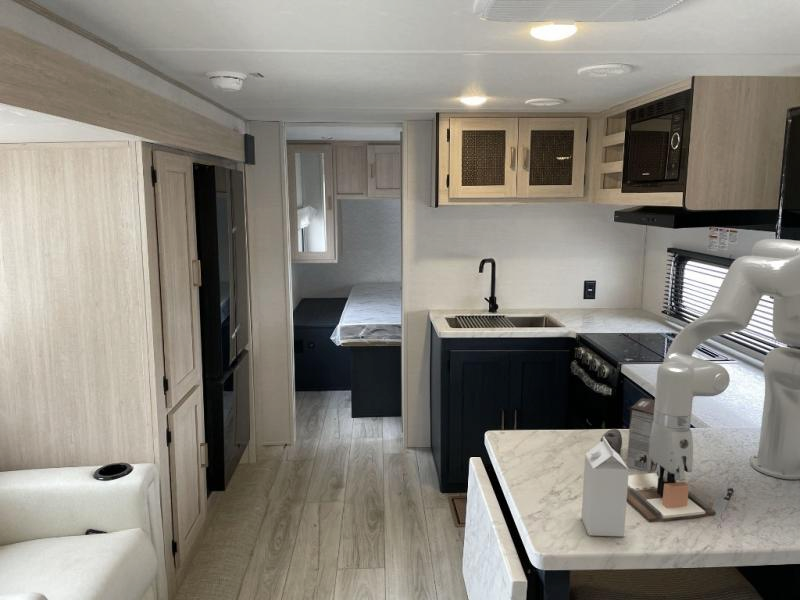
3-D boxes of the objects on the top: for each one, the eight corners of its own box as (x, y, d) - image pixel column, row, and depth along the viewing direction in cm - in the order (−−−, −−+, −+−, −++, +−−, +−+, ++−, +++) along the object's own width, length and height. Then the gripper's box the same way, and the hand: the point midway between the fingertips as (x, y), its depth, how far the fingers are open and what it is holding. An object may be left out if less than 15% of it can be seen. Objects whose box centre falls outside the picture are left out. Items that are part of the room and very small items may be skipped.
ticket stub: (684, 497, 139) (686, 475, 138) (705, 513, 133) (707, 490, 131) (644, 502, 137) (646, 479, 136) (663, 518, 131) (665, 494, 130)
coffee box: (637, 454, 164) (641, 397, 161) (662, 461, 160) (667, 402, 157) (625, 466, 157) (629, 406, 154) (651, 473, 153) (656, 412, 150)
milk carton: (614, 519, 132) (620, 436, 129) (624, 537, 125) (630, 451, 122) (581, 517, 133) (586, 435, 129) (588, 536, 126) (594, 450, 122)
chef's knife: (701, 523, 132) (716, 526, 130) (701, 518, 132) (716, 521, 130) (720, 488, 146) (734, 491, 145) (720, 484, 146) (734, 487, 144)
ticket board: (663, 475, 152) (664, 467, 152) (715, 515, 134) (716, 506, 133) (604, 480, 149) (605, 473, 149) (649, 522, 131) (649, 513, 130)
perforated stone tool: (606, 443, 171) (608, 420, 170) (626, 447, 168) (628, 423, 167) (594, 464, 158) (596, 439, 157) (615, 468, 156) (617, 443, 154)
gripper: (709, 430, 128) (701, 510, 132) (667, 405, 143) (661, 478, 146) (677, 432, 127) (670, 513, 130) (637, 407, 141) (632, 480, 145)
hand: (665, 494), depth 138 cm, fingers closed
